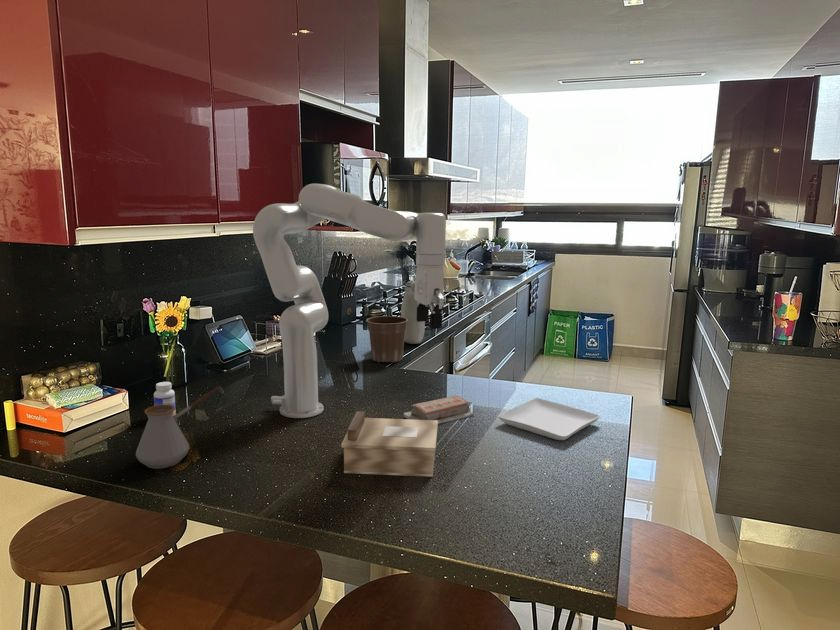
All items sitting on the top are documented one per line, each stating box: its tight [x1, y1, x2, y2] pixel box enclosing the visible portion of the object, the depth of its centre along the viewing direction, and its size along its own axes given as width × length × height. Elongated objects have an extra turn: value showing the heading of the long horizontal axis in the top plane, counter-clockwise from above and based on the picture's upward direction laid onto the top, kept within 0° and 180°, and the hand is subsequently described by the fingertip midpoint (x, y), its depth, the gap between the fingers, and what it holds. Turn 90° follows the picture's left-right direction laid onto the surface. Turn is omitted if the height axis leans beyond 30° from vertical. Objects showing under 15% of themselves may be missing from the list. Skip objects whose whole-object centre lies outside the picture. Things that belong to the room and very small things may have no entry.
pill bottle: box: [153, 381, 177, 416], centre depth 161 cm, size 5×5×10 cm
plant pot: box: [365, 315, 408, 363], centre depth 224 cm, size 16×16×16 cm
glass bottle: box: [400, 280, 426, 345], centre depth 249 cm, size 10×10×28 cm
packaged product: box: [403, 395, 474, 425], centre depth 164 cm, size 18×5×10 cm
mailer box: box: [343, 448, 436, 477], centre depth 136 cm, size 20×16×6 cm
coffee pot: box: [135, 386, 225, 469], centre depth 136 cm, size 21×12×15 cm, turn 137°
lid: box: [340, 410, 439, 452], centre depth 135 cm, size 21×17×3 cm
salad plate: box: [497, 397, 601, 441], centre depth 159 cm, size 21×21×3 cm
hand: (428, 324), depth 152 cm, fingers open, 9 cm apart
